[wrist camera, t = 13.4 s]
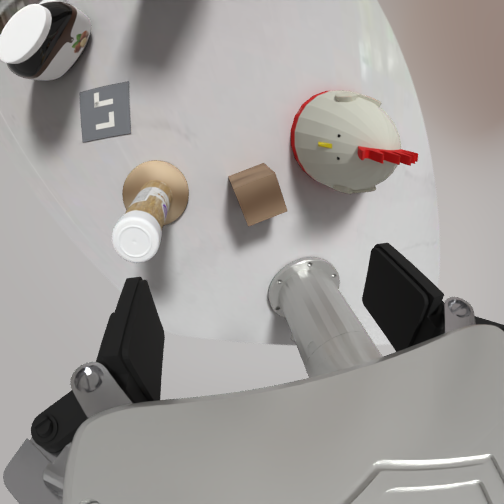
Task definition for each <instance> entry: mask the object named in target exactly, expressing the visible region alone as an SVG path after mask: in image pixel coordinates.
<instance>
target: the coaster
mask: <svg viewBox="0 0 504 504" xmlns="http://www.w3.org/2000/svg"><path fill="white" fill-rule="evenodd" d="M152 180H158V181H162V182H164V183H166V184H167V185H168V186H169V187H170V189H171V191H172V195H173V198H172V203H171V205H170V207H169V211H168V214H167V217H166V220H165V223H164V224H163V225H167V224H169V223H171V222H173V221H175V220H176V219H177V218H178V217H179V216H180V215H181V214H182V213H183V211H184V210H185V208H186V205H187V202H188V196H189V190H188V184H187V181H186V179H185V177H184V176H183V174H182V173H181V172H180V170H178V169H177V168H176V167H175V166H173V165H172V164H170V163H167V162H164V161H157V160H156V161H148V162H145V163H142V164H140V165H139V166H137V167H136V168H135V169H133V170H132V171H131V173H130V174H129V175H128V177H127V178H126V180H125V183H124V186H123V194H122V195H123V201H124V205H125V207H126V209H128V208H129V206H130V205H131V203H132V202H133V200H134V199H135V197H136V196H137V195H138V193H139V192H140V191H141V188H142V187H143V186H144V185H145V184H146V183H147V182H149V181H152Z"/></svg>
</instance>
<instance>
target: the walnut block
mask: <svg viewBox="0 0 504 504" xmlns="http://www.w3.org/2000/svg"><path fill="white" fill-rule="evenodd" d="M229 180H230V182H231V185H232V187H233V190H234V192H235V194H236V197H237V199H238V202H239V204H240V207H241V209H242V212H243V214H244V217H245V219H246V222H247V224H248V227H249V226H251V225H254V224H256V223H259V222H261V221H264V220H266V219H269V218H271V217H274V216H276V215H279V214H282V213H284V212H287V208H286V205H285V202H284V199H283V195H282V192H281V189H280V186H279V183H278V180H277V177H276V174H275V172H273V171H272V170H271V169H270V168H269V167H268V166H267V165H266V164H264V163H262V164H260V165H257V166H254V167H252V168H249V169H246V170H244V171H241V172H239V173H236V174H234V175H231V176H229Z"/></svg>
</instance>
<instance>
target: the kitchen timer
mask: <svg viewBox="0 0 504 504" xmlns="http://www.w3.org/2000/svg"><path fill="white" fill-rule="evenodd" d="M380 105H381V102H380V101H378V100H376V99H374V98H371V97H368V96H365V95H362V94H359V93H356V92H351V91H344V90H340V91H325V92H322V93H319V94H317V95H314V96H312V97H311V98H310V99H309V100H307V101H306V102H305V103H304V104H303V105H302V106H301V108H300V109H299V111H298V112H297V114H296V115H295V118H294V121H293V125H292V128H291V146H292V150H293V153H294V156H295V159H296V160H297V162H298V164H299V165H300V167H301V168H302V170H303V171H304V172H306V173H307V174H308V175H309V176H310V177H311V178H313V179H314V180H315V181H317V182H319V183H322V184H324V185H326V186H328V187H331V188H333V189H334V190H337V191H340V192H343V193H347V194H352V193H361V192H371V191H375V190H376V187H375V185H377V184H379V183H381V182H383V181H384V180H386V179H387V178H388V177H389V176H390V175H391V174H392V173H393V171H394V170H395V168H396V167H397V165H399V164H400V163H403V164H406V165H410V166H411V163H414V164H415V161H416V162H417V160H418V154H417V153H414V152H410V151H406V150H402V149H401V142H400V136H399V134H398V131H397V129H396V126H395V124H394V123H393V121H392V120H391V119H390V117H389V116H388V115H387V114H386V112H385V111H384V110H383V109H381V108H380Z"/></svg>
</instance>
